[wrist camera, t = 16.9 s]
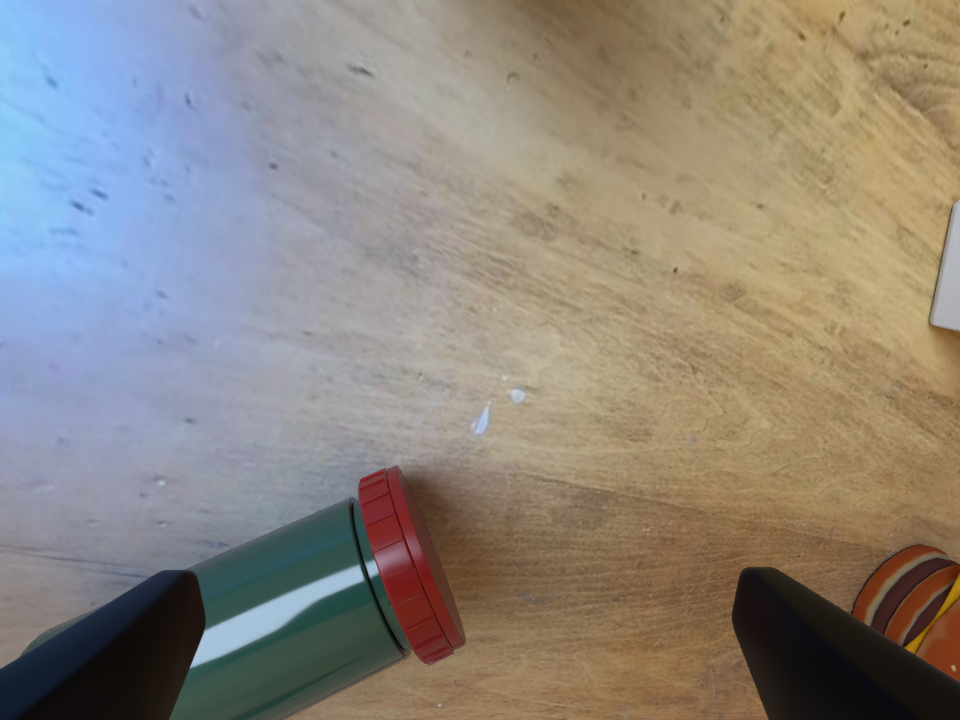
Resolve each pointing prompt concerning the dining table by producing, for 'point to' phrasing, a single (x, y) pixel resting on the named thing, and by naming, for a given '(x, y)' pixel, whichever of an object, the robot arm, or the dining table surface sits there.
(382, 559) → the jar lid
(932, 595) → the hamburger
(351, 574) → the jar
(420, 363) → the dining table surface
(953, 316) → the medicine bottle
